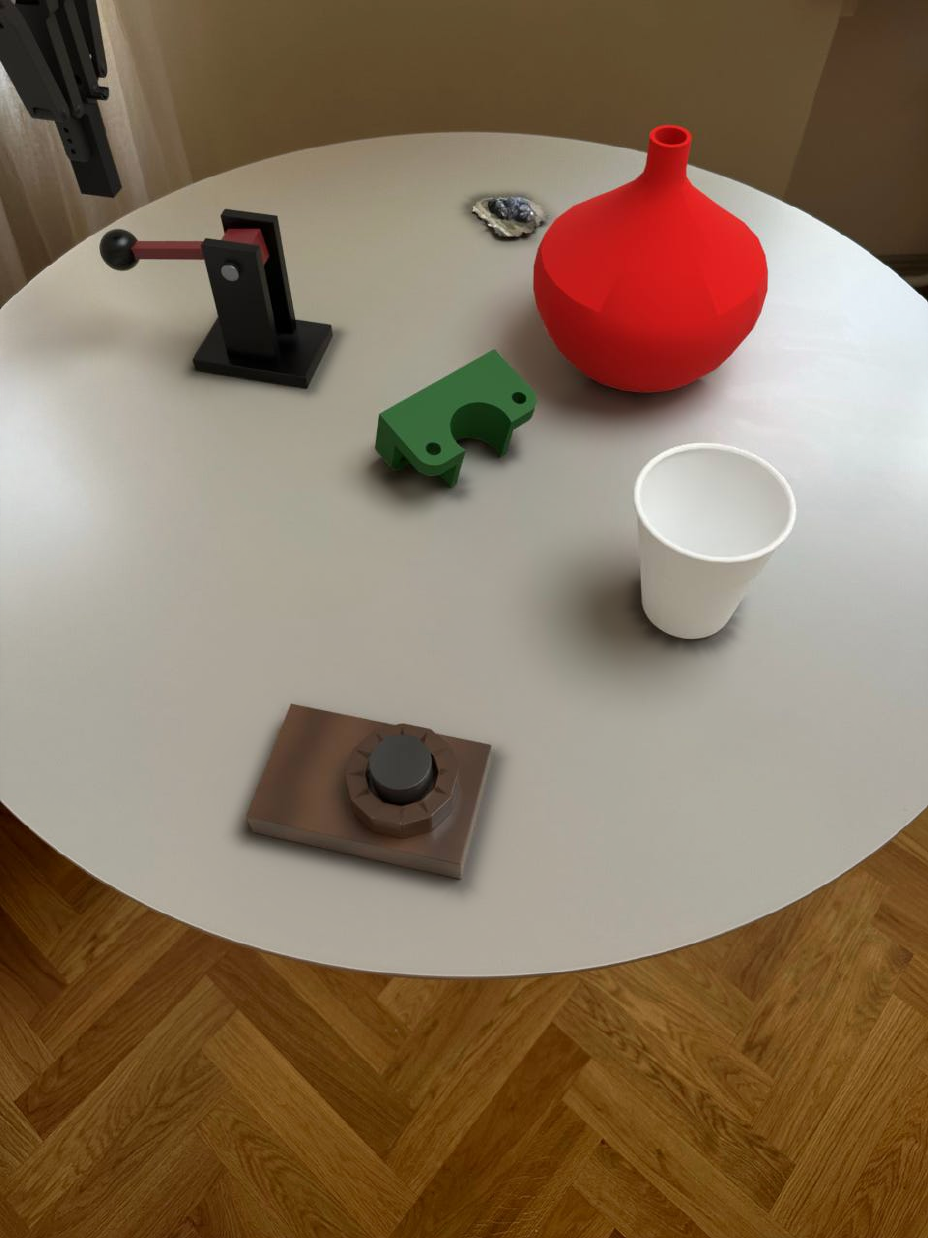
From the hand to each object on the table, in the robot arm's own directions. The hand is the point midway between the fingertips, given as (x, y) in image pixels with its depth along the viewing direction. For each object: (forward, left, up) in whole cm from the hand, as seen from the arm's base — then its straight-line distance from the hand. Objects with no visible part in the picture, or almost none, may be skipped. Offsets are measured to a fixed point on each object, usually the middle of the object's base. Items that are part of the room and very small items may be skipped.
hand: (101, 190), depth 80 cm
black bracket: (+11, 0, -14) cm, 17 cm away
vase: (+42, +7, -14) cm, 45 cm away
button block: (+32, -38, -14) cm, 52 cm away
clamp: (+30, -8, -14) cm, 34 cm away
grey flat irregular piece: (+27, +24, -14) cm, 39 cm away
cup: (+49, -19, -14) cm, 54 cm away
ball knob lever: (+6, 0, -6) cm, 8 cm away
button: (+34, -38, -10) cm, 52 cm away
